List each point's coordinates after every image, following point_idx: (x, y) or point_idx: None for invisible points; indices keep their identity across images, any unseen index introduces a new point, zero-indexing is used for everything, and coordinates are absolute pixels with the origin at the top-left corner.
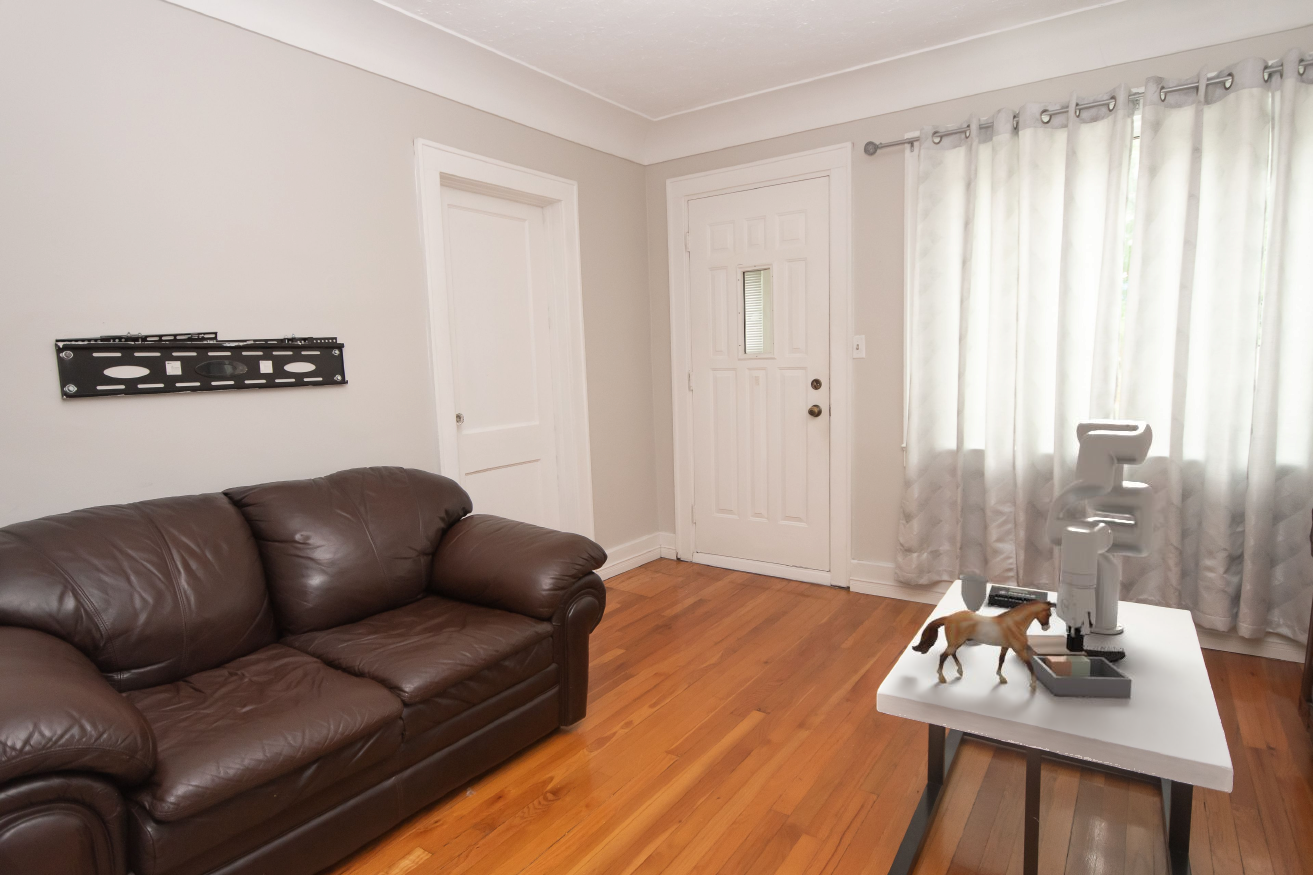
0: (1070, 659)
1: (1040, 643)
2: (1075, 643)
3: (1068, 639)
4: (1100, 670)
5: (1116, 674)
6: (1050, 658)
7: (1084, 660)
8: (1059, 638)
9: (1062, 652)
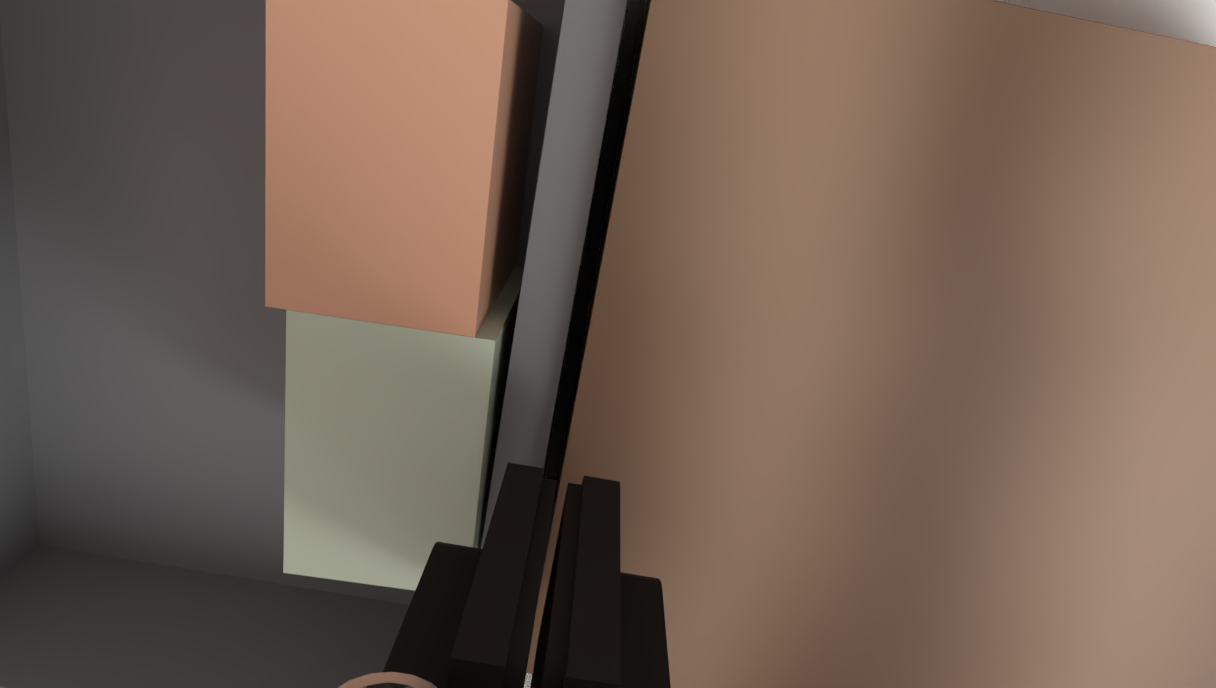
0: (345, 338)
1: (1054, 281)
2: (406, 618)
3: (561, 598)
4: None
5: (123, 663)
6: (401, 18)
7: (304, 510)
8: (1118, 670)
9: (637, 398)
